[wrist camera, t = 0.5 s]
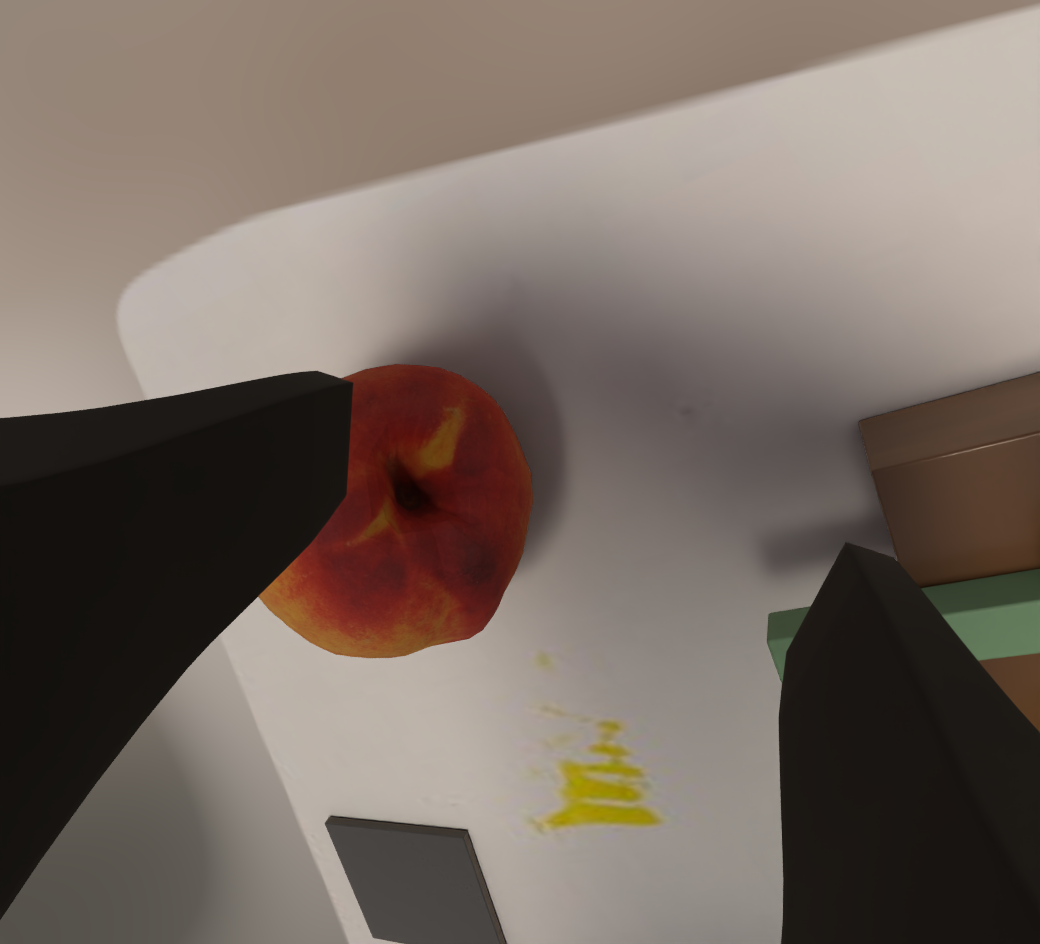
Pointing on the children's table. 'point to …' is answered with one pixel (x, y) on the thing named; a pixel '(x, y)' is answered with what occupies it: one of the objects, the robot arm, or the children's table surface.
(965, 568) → the block with upright peg
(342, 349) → the children's table surface
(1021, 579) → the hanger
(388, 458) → the fruit
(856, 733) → the robot arm
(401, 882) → the coaster
